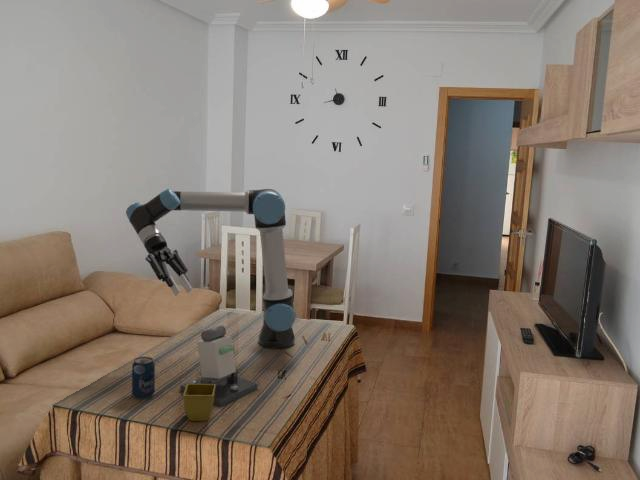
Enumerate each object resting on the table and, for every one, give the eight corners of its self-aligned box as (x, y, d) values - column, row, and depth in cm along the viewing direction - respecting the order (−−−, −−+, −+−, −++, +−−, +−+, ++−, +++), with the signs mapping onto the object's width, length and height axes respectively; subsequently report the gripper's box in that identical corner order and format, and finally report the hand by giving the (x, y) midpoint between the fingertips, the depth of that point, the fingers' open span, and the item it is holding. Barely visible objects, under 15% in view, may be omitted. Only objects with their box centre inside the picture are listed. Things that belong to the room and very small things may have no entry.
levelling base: (180, 391, 198) (180, 375, 197) (218, 375, 213) (218, 360, 212) (220, 406, 188) (220, 390, 187) (257, 389, 203) (258, 373, 202)
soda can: (142, 401, 189) (142, 365, 187) (127, 396, 192) (127, 360, 190) (159, 394, 194) (159, 359, 192) (144, 389, 198) (144, 354, 196)
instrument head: (200, 384, 198) (193, 331, 197) (221, 376, 206) (215, 324, 205) (221, 386, 192) (214, 331, 192) (242, 377, 201) (235, 325, 200)
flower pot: (186, 410, 184) (187, 383, 183) (215, 411, 185) (216, 383, 183) (182, 424, 175) (182, 395, 174) (212, 424, 176) (213, 395, 175)
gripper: (166, 243, 229) (196, 293, 223) (128, 249, 215) (158, 302, 208) (176, 231, 225) (207, 281, 219) (137, 236, 211) (169, 290, 204)
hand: (183, 291), depth 214 cm, fingers open, 5 cm apart
